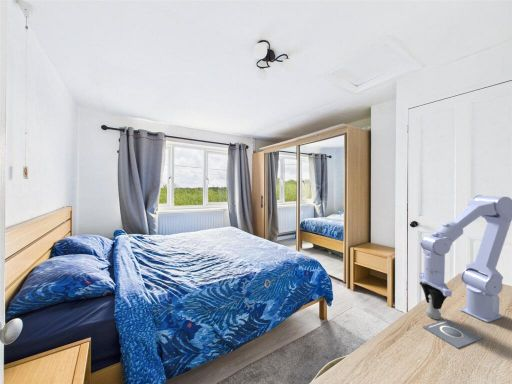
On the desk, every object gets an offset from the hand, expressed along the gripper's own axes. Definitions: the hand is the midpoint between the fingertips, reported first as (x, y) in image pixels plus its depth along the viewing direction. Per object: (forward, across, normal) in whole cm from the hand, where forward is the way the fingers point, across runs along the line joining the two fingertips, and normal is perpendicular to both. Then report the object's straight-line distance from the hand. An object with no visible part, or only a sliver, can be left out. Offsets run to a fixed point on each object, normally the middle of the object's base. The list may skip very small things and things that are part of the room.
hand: (433, 305), depth 80 cm
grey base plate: (+4, +9, 0) cm, 10 cm away
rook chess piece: (+4, 0, 0) cm, 4 cm away
